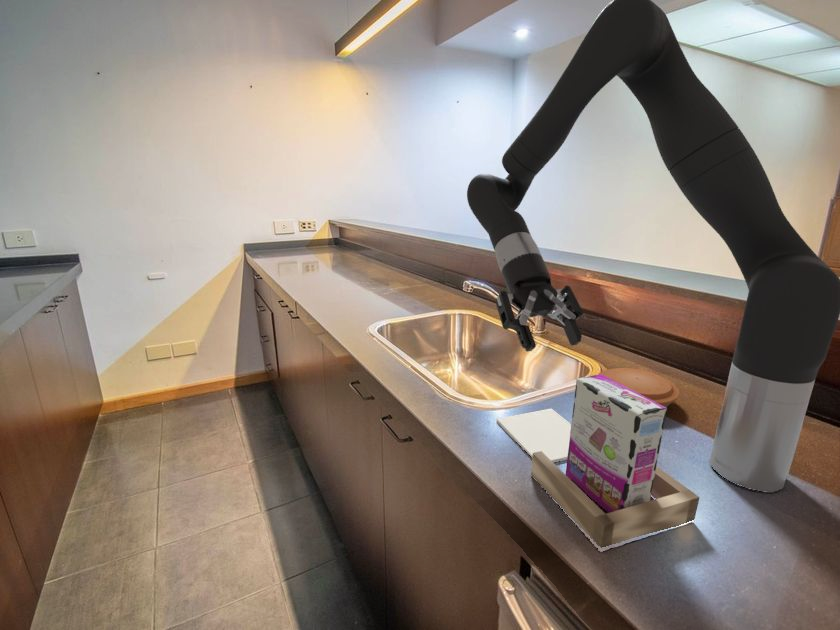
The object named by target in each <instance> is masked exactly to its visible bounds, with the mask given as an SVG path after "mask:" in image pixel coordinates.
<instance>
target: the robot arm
mask: <svg viewBox="0 0 840 630" xmlns="http://www.w3.org/2000/svg"><path fill="white" fill-rule="evenodd" d="M616 76H617V77H618V78H619V79H620V80H621V81H622V82H623V83H624V84H625V86H626V87H627V88H628V89H629V90H630V92H631V93H632V94H633V96H634V97H635V98H636V99H637V101H638V102H639V104H640V105H641V107H642V109H643V110H644V112H645V114H646V116H647V119H648V121H649V123H650V128H651V130H652V131H651V132H652V135H653V137H654V140H655V144H656V147H657V150H658V152H659V155H660V158H661V160H662V162H663V164H664V165H665V167H666V169H667V171H668V172H669V174H670V176H671V177H672V178H673V180H674V182H675V183H676V185H677V186H678V188H679V189H680V191H681V192H682V195H684V197H685V198H686V199H687V201H688V202H689V204H690V205H691V206H692V207H693V208H694V210H696V212H697V213H698V214H699V215H700V216H701V217H702V218H703V220H704V221H706V223H707V224H709V226H710V227H711V229H713V230H714V231H715V233H717V234H718V235H719V237H720V238H721V239H722V240H723V242H725V244H726V245H727V247H728V249H729V251H730V252H731V255H732V256H733V258H734V261H735V262H736V264H737V266H738V268H739V270H740V272H741V274H742V277H743V278H744V281H745V284H746V286H747V290H748V294H747V297H746V302H745V307H744V310H743V311H744V312H743V316H742V320H741V325H740V328H739V332H738V337H737V340H736V344H735V346H734V350H733V351H734V352H733V356H732V359H731V360H732V361H731V365H730V369H729V373H728V378H727V383H726V386H725V391H724V396H723V401H722V405H721V408H720V409H721V410H720V412H719V413H720V414H719V417H718V423H717V426H716V432H715V435H714V440H713V443H712V447H711V452H710V457H709V462H710V463H709V465H710V464H711V465H710V467H711V466H712V467H713V469H714V470H716V471H717V472H718V473H719V474H721V475H722V476H723V477H725V478H726V479H728V480H729V481H731V482H734V483H736V484H739V485H742V486H744V487H747V488H751V489H755V490H759V491H767V492H766V493H775V492H774V491H777V492H779V491H778V490H780V489H781V490H782V489H784V486H785V484H786V477H787V476H788V477H789V475H790V474H789V473H790V469H791V467H792V464H793V460H794V456H795V454H796V453H795V452H796V449H797V446H798V444H799V439H800V437H801V432H802V429H803V424H804V419H805V417H806V413H807V410H808V407H809V403H810V399H811V396H812V393H813V392H812V391H813V388H814V385H815V381H816V379H817V375H818V373H819V369H820V367H821V366H822V365H823V363H824V361H825V360H826V358H827V355H828V353H829V349H830V345H831V343H832V340H833V336H834V334H835V331H836V327H837V325H838V321H839V319H840V278H839V276H838V275H837V274H836V272H835V271H834V270H833V269H832V268H831V267H830V266H829V265H828V264H827V263H826V262H824V261H823V260H822V259H821V258H820V257H819V256H818V255H817V254H816V253H815V252H814V251H813V250H812V248H811V247H810V246H809V245H808V243H807V242H806V241H805V240H804V239H803V238H802V237H801V235H800V234H799V233H798V232H797V230H796V229H795V227H794V226H793V225H792V224H791V222H790V221H789V220H788V219H787V217H786V215H785V213H784V211H783V210H782V208H781V206H780V204H779V200H778V199H777V196H776V194H775V192H774V189H773V187H772V184H771V181H770V179H769V177H768V175H767V173H766V171H765V169H764V167H763V165H762V162H761V161H760V159H759V157H758V156H757V154H756V152H755V150H754V149H753V147H752V146H751V144H750V142H749V141H748V139H747V137H746V136H745V135H744V133H743V131H742V130H741V128H740V127H739V125H738V124H737V123H736V121H735V120H734V119H733V118H732V116H731V115H730V114H729V113H728V111H727V110H726V109H725V108H724V106H723V105H722V104H721V103H720V102H719V100H718V99H717V98H716V96H715V95H714V94H713V93H712V92H711V91H710V90H709V89H708V88H707V87H706V86H705V84H703V82H702V81H701V80H700V79H699V77H697V75H696V73H695V71H693V69H692V67H691V65H690V63H689V61H688V60H687V57H686V55H685V54H684V51H683V50H682V47H681V45H680V43H679V41H678V39H677V37H676V34H675V32H674V30H673V27H672V25H671V23H670V21H669V18H668V16H667V14H666V13H665V12H664V10H663V9H662V8H661V7H659V6H658V5H657V4H656V3H655V2H654V1H653V0H612V1H610V2H608V4H607V5H606V6H605V7H604V8H603V9H602V10H601V12H600V13H599V14H598V16H596V18H595V20H594V21H593V23H592V25H591V26H590V28H589V29H588V31H587V32H586V34H585V36H584V37H583V40H582V41H581V43H580V45H579V46H578V48H577V49H576V51H575V53H574V55H573V56H572V58H571V60H570V61H569V63H568V64H567V66H566V67H565V70H564V71H563V72H562V74H561V76H560V77H559V78H558V80H557V82H556V84H555V85H554V87H553V88H552V90H551V92H550V93H549V94H548V96H547V97H546V99H545V100H544V102H543V103H542V105H541V106H540V107H539V109H538V110H537V112H536V113H534V116H533V117H532V118H531V119H530V121H529V122H528V123H527V124H526V125H525V127H524V128H523V129H522V130H521V131H520V133H519V134H518V135H517V137H516V138H515V139H514V141H513V142H512V143H511V145H510V146H509V147H508V148H507V150H505V152H504V154H503V155H502V159H501V164H502V166H503V168H504V171H505V172H506V173H507V174H508V175H507V176H506V177H505V178H501V177H499V176H495V175H493V174H490V173H480V174H477V175H475V176H474V177H472V179H471V180H470V182H469V184H468V186H467V190H466V191H467V192H466V197H467V198H466V199H467V203H468V206H469V208H470V210H471V212H472V214H473V215H474V217H475V218H476V220H477V221H478V222H479V224H480V226H481V227H483V229H484V230H485V231H486V233H487V234H488V236H489V239H490V242H491V245H492V248H493V250H494V253H495V258H496V262H497V264H498V267H499V270H500V272H501V275H502V278H503V281H504V283H505V285H506V289H507V291H505V290H501V291H500V293H499V294H498V295H497V297H496V298H495V300H494V301H495V305H496V308H497V311H498V316H499V319H500V322H501V326H502V328H503V329H504V330H507V331H508V330H509V329H510V330H514V331H515V332H516V335H517V337H518V341H519V343H520V345H521V347H522V349H524V350H525V351H526V352H532V351H533V350H534V349H535V348H536V347H537V346H536V345H537V344H536V342H535V340H534V339H535V338H534V336H533V334H532V332H531V329H530V325H527V323H528V319H529V317H530V318H535V317H537V316H540V317H544V316H548V317H550V319H552V320H556V321H558V322H559V323H560V324H561V325H562V328H563V331H564V332H565V336H566V338H567V340H568V343H569V345H570V346H576V345H578V344H580V343H581V341H582V338H583V337H582V336H583V335H582V333H581V331H580V329H579V327H578V324H577V320H578V319H579V318H580V317H581V316H583V315H584V311H583V309H582V307H581V305H580V304H579V301H578V299H577V297H576V296H575V293H574V292H573V290H572V288H571V287H570V286H569V285H565V286H564V287H563V288H558V289H556V288H555V286H553V284H552V281H551V280H552V279H551V274H550V272H549V269H548V267H547V266H546V265H547V264H546V263H545V260H544V258H543V255H542V253H541V251H540V249H539V247H538V244H537V243H536V241H535V240H534V239H533V237H532V235H531V232H530V230H529V227H528V225H527V223H526V221H525V219H524V217H523V215H522V214H521V213H519V212H518V211H516V210H517V209H518V208H519V207H520V205H521V203H522V201H523V200H524V198H525V196H526V194H527V193H528V190H529V189H530V187H531V185H532V183H533V180H534V179H535V178H536V176H537V175H538V174H539V173H540V172H541V171H542V170H543V168H544V167H545V166H547V164H548V163H549V162H550V160H552V158H553V157H554V156H555V155H556V154H557V152H558V151H559V150H560V148H561V147H562V146H563V145H564V143H565V141H566V140H567V138H568V136H569V134H570V133H571V131H572V130H573V127H574V126H575V123H576V122H577V120H578V118H579V117H580V116H581V114H582V113H583V111H584V110H585V108H587V106H588V105H589V103H590V102H591V101H592V99H593V98H595V96H596V95H597V94H598V93H599V92H600V91H601V90H602V89H603V88H604V87H605V86H606V85H607V84H608V83H610V82H611V81H612V80H614V78H615V77H616ZM512 304H513V305H514V306H516V308H518V312H517V314H516V316H515V315H514V314H515V313H514V310H513V308H512ZM554 308H556V309H555V310H554ZM712 467H711V468H712ZM713 469H712V470H713ZM714 470H713V471H714ZM723 477H722V478H723ZM788 477H787V478H788ZM726 479H725V480H726ZM728 480H727V481H728ZM729 481H728V482H729ZM731 482H730V483H731ZM736 484H735V485H736ZM781 490H780V491H781ZM759 491H758V492H759Z"/></svg>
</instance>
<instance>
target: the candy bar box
mask: <svg viewBox="0 0 840 630" xmlns="http://www.w3.org/2000/svg"><path fill="white" fill-rule="evenodd" d="M667 410H668V408H667V407H664V406H662V405H660V404H658V403H656V402H654V401H652V400H651V399H649V398H647V397H645V396H643V395H641V394H639V393H637V392H635V391H633V390H631V389H629V388H627V387H626V386H624V385H622V384H620V383H618V382H616V381H614V380H612V379H610V378H608V377H606V376H604V375H603V374H600V375H598V374H596V375H595V374H594V375H589V376H585V377H579V378H576V381H575V390H574V398H573V408H572V417H571V422H570V424H571V432H570V441H569V450H568V457H567V460H566V467H565V475H566V476H567V477H568V478H569V479H570V480H571V481H572V482H573V483H574V484H576V485H577V486H578V487H579V488H580V489H581V490H582V491H583V492H584V493H585V494H586V495H588V496H589V497H590V498H591V499H592V501H593V500H594V501H595V502H596V503H597V504H598V505H599V506H600V507H602V509H601V510H603V509H604V510H605V511H606V512H607V513H610V512H614V511H617V510H621V509H624V508H628V507H631V506H634V505H638V504H641V503H645V502H648V501H651V499H652V498H651V492H652V487H653V482H654V476H655V471H656V466H658V465H657V464H658V458H659V455H660V448H661V444H662V438H663V433H664V432H663V431H664V426H665V421H666V416H667V415H666V414H667ZM594 501H593V502H594ZM595 502H594V503H595ZM596 503H595V504H596ZM597 504H596V505H597ZM598 505H597V506H598ZM599 506H598V507H599ZM600 507H599V508H600ZM604 510H603V511H604ZM605 511H604V512H605ZM606 512H605V513H606ZM607 513H606V514H607Z"/></svg>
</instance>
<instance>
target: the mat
mask: <svg viewBox="0 0 840 630" xmlns="http://www.w3.org/2000/svg"><path fill="white" fill-rule="evenodd" d="M496 423H497V424H498V425H499V426H500V427H501V428H502V429H503V430H504V431H505V432H506V434H508V435H509V436H510V437H511V438H512V440H513V441H514V442H515V443H516V442H517V443H518V444H519V445H520V446H521V447H522V448H521V447H520V448H521V449H522V450H523V449H524V450H525V451H526V452H527V453H528V454H529V455H530V456H531V457H532V456H533V453H535V452H539V451H542V452H543V453H544V454H545V455H546V456H547V457H548V458H549V459H550V460H551V461H552V462H553V463H554V464H555V462H556V463H559V461H560V462H563V461H567V457H568V450H569V441H570V432H571V422H569V421H568V420H567V419H565V418H564V417H563V416H562V415H560V414H559V413H558V412H556V411H555V410H554V409H553V408H546V409H541V410H537V411H531V412H525V413H519V414H515V415H509V416H504V417H499V418H496ZM517 443H516V444H517ZM518 444H517V445H518ZM519 445H518V446H519ZM524 450H523V451H524ZM525 451H524V452H525ZM526 452H525V453H526ZM527 453H526V454H527ZM528 454H527V455H528ZM529 455H528V456H529ZM530 456H529V457H530ZM531 457H530V458H531Z"/></svg>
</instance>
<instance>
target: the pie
mask: <svg viewBox="0 0 840 630" xmlns="http://www.w3.org/2000/svg"><path fill="white" fill-rule="evenodd" d="M600 374H603V375H604V376H606V377H608V378H610V379H612V380H614V381H616V382H618V383H620V384H622V385H624V386H626V387H627V388H629V389H631V390H633V391H635V392H637V393H639V394H641V395H643V396H645V397H647V398H649V399H651V400H652V401H654V402H656V403H658V404H660V405H662V406H664V407H666V408H667V407H668V406H670V405H671V404H672V403H674V402H676V401H677V400H678V399H679V397H680V396H681V393H680V392H681V391H680V389H679V388H678V387H677V386H676V385H675V384H674V383H673V382H671V381H669V380H668V379H667V378H665V377H663V376H661V375H659V374H656V373H654V372H650V371H647V370H643V369H638V368H632V367H631V368H630V367H616V368H615V367H614V368H609V369H604V370H603V371H600V372H598V373H597V375H600Z"/></svg>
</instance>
